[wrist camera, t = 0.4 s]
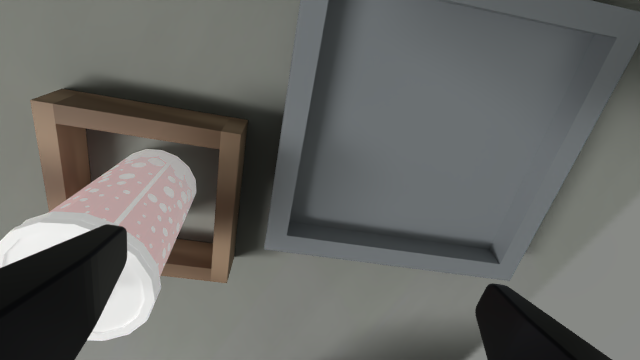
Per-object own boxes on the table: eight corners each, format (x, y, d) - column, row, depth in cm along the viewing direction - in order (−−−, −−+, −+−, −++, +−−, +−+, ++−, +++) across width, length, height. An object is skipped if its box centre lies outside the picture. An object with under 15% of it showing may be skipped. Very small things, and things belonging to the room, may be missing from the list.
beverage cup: (89, 191, 22) (-192, 437, 10) (134, 115, 20) (-146, 302, 8) (178, 240, 24) (40, 500, 12) (228, 175, 22) (125, 405, 10)
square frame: (233, 257, 25) (226, 283, 23) (81, 238, 24) (57, 263, 21) (247, 120, 20) (240, 134, 18) (62, 88, 19) (30, 100, 17)
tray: (491, 256, 26) (509, 280, 23) (267, 225, 24) (263, 249, 22) (612, 13, 19) (654, 14, 16) (309, -56, 17) (310, -65, 15)
